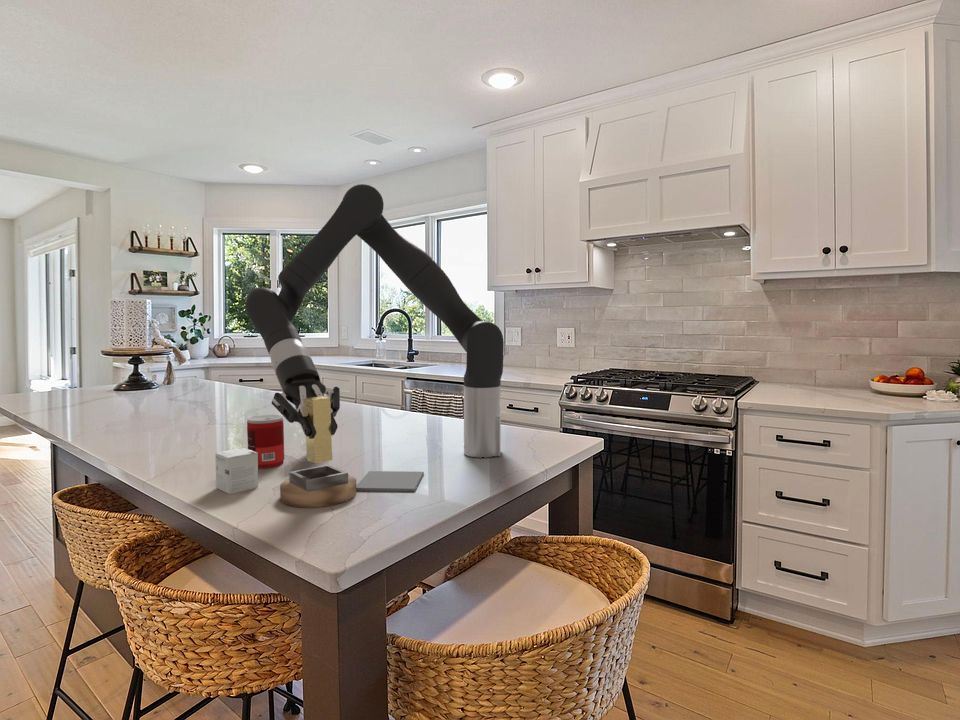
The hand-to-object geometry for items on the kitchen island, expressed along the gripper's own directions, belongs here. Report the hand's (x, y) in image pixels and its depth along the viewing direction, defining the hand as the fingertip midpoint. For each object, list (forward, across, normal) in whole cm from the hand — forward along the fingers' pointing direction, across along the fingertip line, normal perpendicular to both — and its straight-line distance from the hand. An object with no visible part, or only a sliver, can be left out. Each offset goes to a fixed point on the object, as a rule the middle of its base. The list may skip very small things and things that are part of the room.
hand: (323, 434), depth 102 cm
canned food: (-14, +1, +31) cm, 34 cm away
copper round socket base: (+7, 0, +10) cm, 12 cm away
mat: (+9, +14, +9) cm, 19 cm away
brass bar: (+2, 0, +5) cm, 6 cm away
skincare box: (-4, -10, +21) cm, 24 cm away
